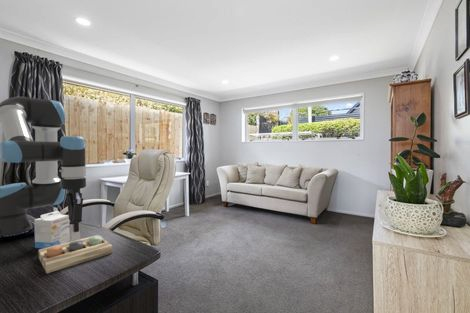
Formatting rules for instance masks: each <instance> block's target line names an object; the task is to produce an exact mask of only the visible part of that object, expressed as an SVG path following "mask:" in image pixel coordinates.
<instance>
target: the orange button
mask: <svg viewBox="0 0 470 313" xmlns="http://www.w3.org/2000/svg"><path fill="white" fill-rule="evenodd" d="M58 255H62V246H54V247H50V248H48V249H47V258H51V257H55V256H58Z"/></svg>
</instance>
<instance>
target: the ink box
mask: <svg viewBox="0 0 470 313" xmlns="http://www.w3.org/2000/svg"><path fill="white" fill-rule="evenodd" d="M69 223H70V220H69V215H68V214H62V212H60V211H59V210H55V211H52V212H47V213H44V214H41V215H40V218H35V219H34V223H33V225H34V248H35V249H44V248H48V247H52V246H56V245H60V244H64V243H68V242H71V228H70V224H69Z"/></svg>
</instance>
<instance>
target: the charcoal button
mask: <svg viewBox="0 0 470 313" xmlns="http://www.w3.org/2000/svg"><path fill="white" fill-rule="evenodd" d="M70 242H71V243H69V252H73V251H76V250H80V249H83V241H76V240H75V241H74V242H72V241H70Z"/></svg>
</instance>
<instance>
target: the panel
mask: <svg viewBox="0 0 470 313" xmlns="http://www.w3.org/2000/svg"><path fill="white" fill-rule="evenodd" d="M93 236H100V234H96V235H92V236H91V235H90V236H88V237H83V238H80V239H79V240H75V241H83V249H80V250H76V251H73V252H69V243H71V242H74V241H69V242H67V243H64V244H60V245H56V246H62V255H58V256H55V257H51V258H47V249H48V248H50V247H48V248H39V249H38V260H39V262H40V263H41V265H42V268H43V269H44V271H45V273H46V274H50V273H53V272H57V271H59V270H63V269H66V268H69V267H72V266H75V265H79V264H81V263H82V264H83V263H85V262H88V261H91V260H96V259H98V258H100V257H105V256H107V255H112V254H113V245H112V244H111V243H110V242H109V241H108V240H106V239H105V238H104V237H102V243H101V244H98V245H94V246H91V247H90V246H89V238H91V237H93ZM52 247H54V246H52Z"/></svg>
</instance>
